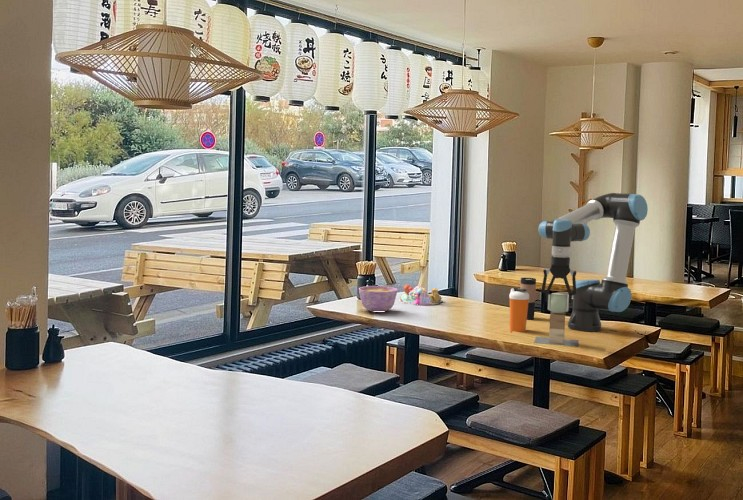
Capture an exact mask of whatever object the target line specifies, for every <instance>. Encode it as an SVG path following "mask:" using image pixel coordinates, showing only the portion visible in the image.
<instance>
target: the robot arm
mask: <svg viewBox="0 0 743 500" xmlns="http://www.w3.org/2000/svg"><path fill="white" fill-rule="evenodd" d="M647 215H648V204H647V200H646V198H645V197H644V196H643V195H642V194H636V193H623V192H622V193H619V192H618V193H617V192H616V193H615V192H611V193H610V192H609V193H605V194H603V195H602V194H601V195H599V196H597V197H595V198H592V199H591V200H588V201H587V202H586V204H585V205H582V206H581V207H579V208H577V209H575V210H573V211H570V212H569V213H567V214H564V215H562V216H560V217H557V218H556V219H554V220H551V221H549V220H546V221H545V220H544V221H542V222H540V223H539V225H538V229H537V230H538V234H539V236H540V237H541V238H543V239H548V240H549V239H550V240H552V244H551V257H550V258H551V260H550V261H551V262H550V268H544V269H543V270H542V271H543V272H542V273H543V279H542V286H541V291H540V292H541V293H543V294H545V299H544V300H545V302H546V303H547V310H548V311H549V310H550V294H551V293H550V292H551V289H552V286H553V284H554V281H555V279H563V281H564V284H565V287H566V290H567V293H568V294H566V295H567V306H566V312H569V307H570V306H569V305H570V304H572V312H571V314H570V317H569V319H568V321H567V328H568V329H571V330H574V331H579V332H580V331H581V332H599V331H601V330H602V322H601V318H600V314H599V310H603V311H610V312H613V313H614V312H616V313H621V312H623V311H625V310H626V309H628V307H629V306H630V303H631V301H632V297H633V296H632V291H631V289H630V288H629V283H628V282H627V280H626V279H627V274H628V268H629V262H630V258H631V253H632V249H633V248H632V246H633V241H634V235H635V233H636V232H635V231H636V229H637V227H639V226H640V223H641V221H643V220H645V218H646V217H647ZM604 218H606V219H607V218H609V219H613V220H612V222H613V223H614V225H615V226H614V232H613V238H612V243H611V248H610V251H609V252H610V254H609V258H608V263H607V269H606V274H605V277H602V279H601V281H600V279H596V278H595V279H579V280H576V275H577V271H576V270H573V269H571V268H570V260H571V259H570V256H571V242H584V241H586V240H588V239H589V238H590V235H591V229H590V227H589V226H588V225H587V223H589V222H592V221H594V220H595V221H597V220H601V219H604ZM549 273H551V275H552V278H551V280H550V282H549V284H548V287H547V288H546V284H547V279H548V275H549ZM569 274H570V276H571V281H572V290H571V286H570V284H569V280H568V277H567V276H568V275H569ZM572 297H573V298H572Z"/></svg>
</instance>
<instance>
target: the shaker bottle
mask: <svg viewBox="0 0 743 500" xmlns="http://www.w3.org/2000/svg"><path fill="white" fill-rule="evenodd" d="M521 290H522V291H521ZM526 290H527V289H520V288H519V287H512V288H511V289H510V293H509V296H508V297H509V332H510V333H511V334H512V333H513V332H516V333H517V332H520V333H521V332H526V331H527V330H526V329H527V321H528V320H527V311H528V301H529V294H528V293H527V292H526Z"/></svg>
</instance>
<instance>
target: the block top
mask: <svg viewBox="0 0 743 500" xmlns="http://www.w3.org/2000/svg"><path fill="white" fill-rule="evenodd" d="M565 327H566V312H563V313H559V312H551V311H550V313H549V328H550V329H563V330H564V328H565ZM565 329H566V328H565Z"/></svg>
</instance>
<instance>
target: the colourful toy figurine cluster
mask: <svg viewBox="0 0 743 500" xmlns="http://www.w3.org/2000/svg"><path fill="white" fill-rule="evenodd" d="M403 291H404V294H401V295H400V296H399V299H398V300H399V301H400V302H404V303H403V304H408V303H412V304H411V305H414V304H416V305H415V306H428V305H429V306H431V305H433V306H434V305H439V304H440V303H442V302H443V299H442V298H443V297H442V296H441V295H440V294H439V290H438V289H437V288H435V287H433V288H432V289H431V293H428V291H427V290H426V288H424V287H422V286H421V285H420V286H419V285H416V286H415V287H412V286H411V285H410V284H405V285H404V286H403ZM409 295H410V296H409ZM400 302H399V303H400ZM417 304H418V305H417Z"/></svg>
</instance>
